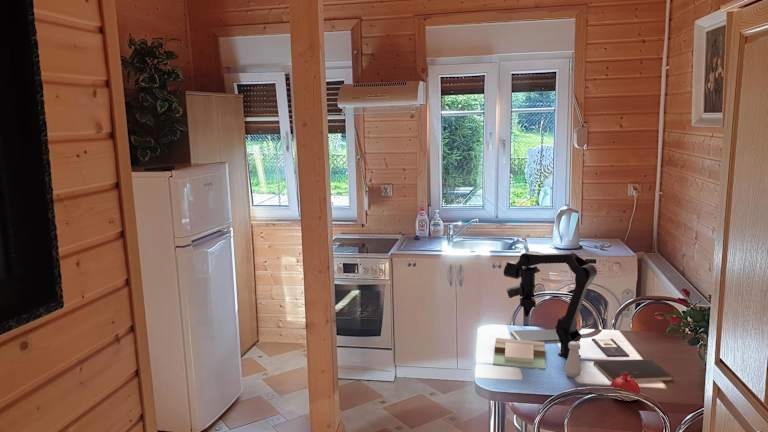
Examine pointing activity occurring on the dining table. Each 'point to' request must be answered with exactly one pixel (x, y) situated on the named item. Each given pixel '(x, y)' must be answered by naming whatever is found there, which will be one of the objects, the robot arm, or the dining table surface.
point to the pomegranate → (626, 383)
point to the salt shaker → (573, 360)
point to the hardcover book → (633, 369)
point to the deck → (537, 345)
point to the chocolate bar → (610, 348)
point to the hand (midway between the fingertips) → (526, 316)
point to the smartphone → (536, 335)
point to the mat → (519, 362)
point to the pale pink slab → (519, 352)
